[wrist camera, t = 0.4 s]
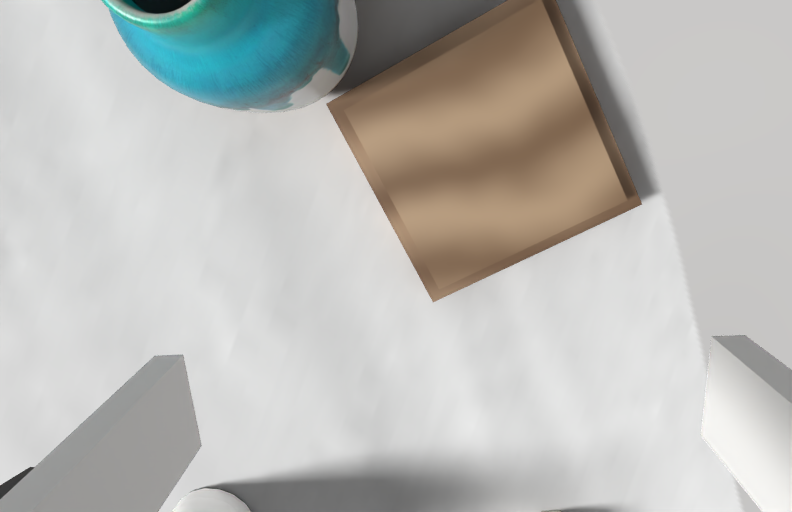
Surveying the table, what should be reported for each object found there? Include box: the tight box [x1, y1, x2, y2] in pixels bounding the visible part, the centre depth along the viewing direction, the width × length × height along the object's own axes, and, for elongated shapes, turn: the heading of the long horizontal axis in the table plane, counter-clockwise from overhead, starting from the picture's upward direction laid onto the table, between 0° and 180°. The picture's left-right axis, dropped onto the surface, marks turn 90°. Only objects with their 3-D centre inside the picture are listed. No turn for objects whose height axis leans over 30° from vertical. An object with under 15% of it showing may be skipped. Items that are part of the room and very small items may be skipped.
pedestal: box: [327, 0, 642, 302], centre depth 36 cm, size 16×16×3 cm
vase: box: [102, 0, 358, 113], centre depth 27 cm, size 11×11×19 cm
